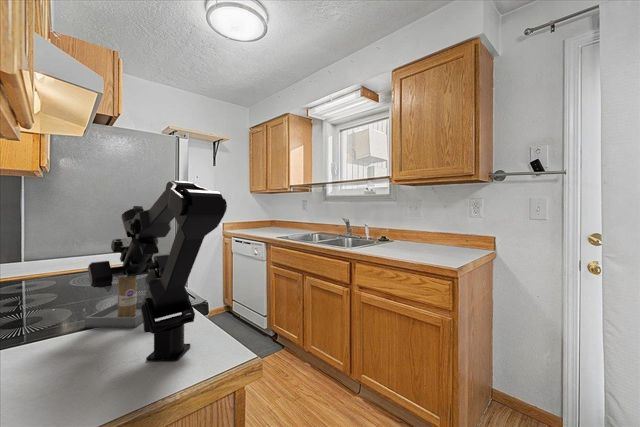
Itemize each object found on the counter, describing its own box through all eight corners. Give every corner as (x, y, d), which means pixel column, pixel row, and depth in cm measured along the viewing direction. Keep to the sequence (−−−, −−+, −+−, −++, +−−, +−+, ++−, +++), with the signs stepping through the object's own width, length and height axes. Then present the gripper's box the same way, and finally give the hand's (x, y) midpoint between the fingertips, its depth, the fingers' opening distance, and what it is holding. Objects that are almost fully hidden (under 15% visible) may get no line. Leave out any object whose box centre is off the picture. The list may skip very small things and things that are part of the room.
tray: (135, 327, 74) (135, 318, 74) (84, 327, 74) (84, 317, 74) (162, 309, 87) (162, 301, 87) (119, 309, 87) (119, 301, 87)
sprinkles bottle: (124, 320, 77) (124, 270, 77) (113, 317, 79) (113, 269, 79) (140, 314, 81) (140, 267, 81) (129, 311, 83) (130, 266, 83)
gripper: (170, 227, 83) (155, 260, 90) (89, 230, 69) (80, 269, 76) (182, 256, 78) (165, 289, 85) (97, 266, 64) (86, 304, 71)
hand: (127, 287), depth 80 cm, fingers open, 9 cm apart
